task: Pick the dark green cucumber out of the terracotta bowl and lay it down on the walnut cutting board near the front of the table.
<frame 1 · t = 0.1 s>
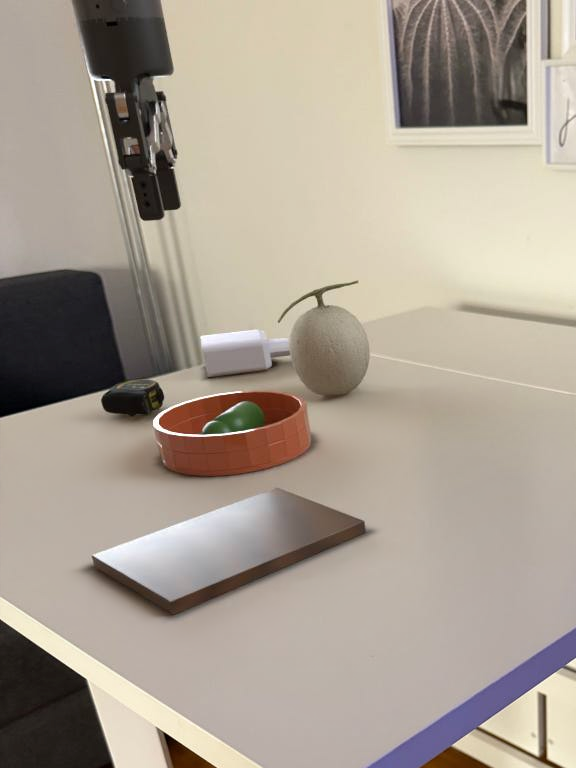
hand: (162, 214, 91), 26 cm above the table, tool pointing down, fingers open, 8 cm apart
bowl: (237, 449, 109), on the table
board: (232, 549, 85), on the table
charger: (256, 367, 143), on the table
tape measure: (139, 416, 124), on the table
cucumber: (236, 444, 109), point 1 cm above the table, touching bowl
fruit: (332, 395, 127), on the table
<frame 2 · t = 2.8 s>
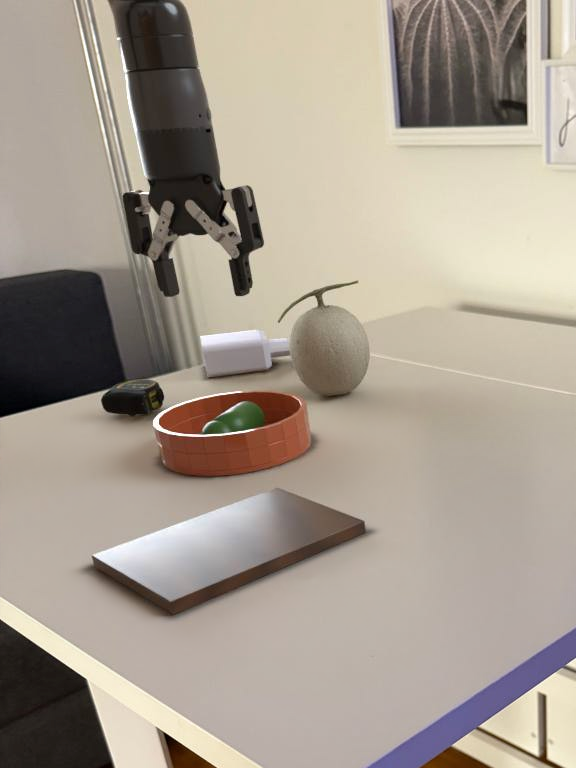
hand: (207, 295, 100), 17 cm above the table, tool pointing down, fingers open, 8 cm apart
nothing on the table moved.
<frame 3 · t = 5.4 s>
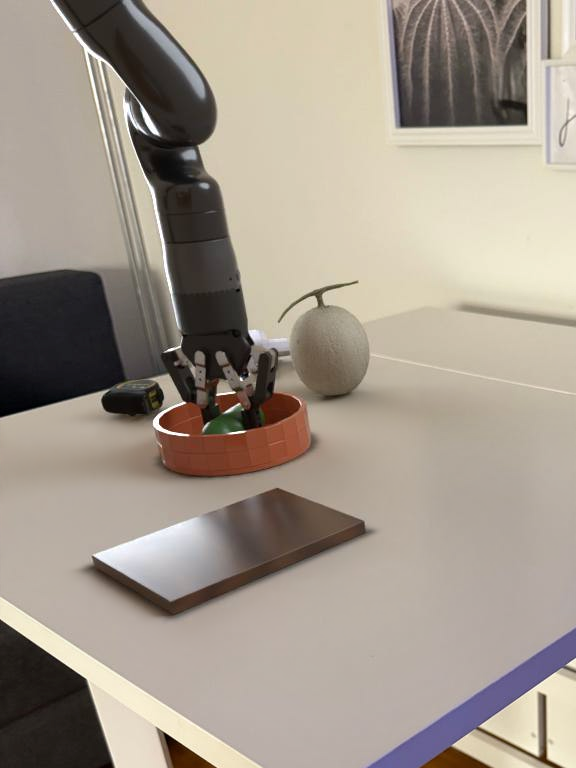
hand: (235, 437, 108), 1 cm above the table, tool pointing down, fingers closed on cucumber, 4 cm apart
cucumber: (236, 444, 109), point 1 cm above the table, touching bowl, gripper
everything else where it was.
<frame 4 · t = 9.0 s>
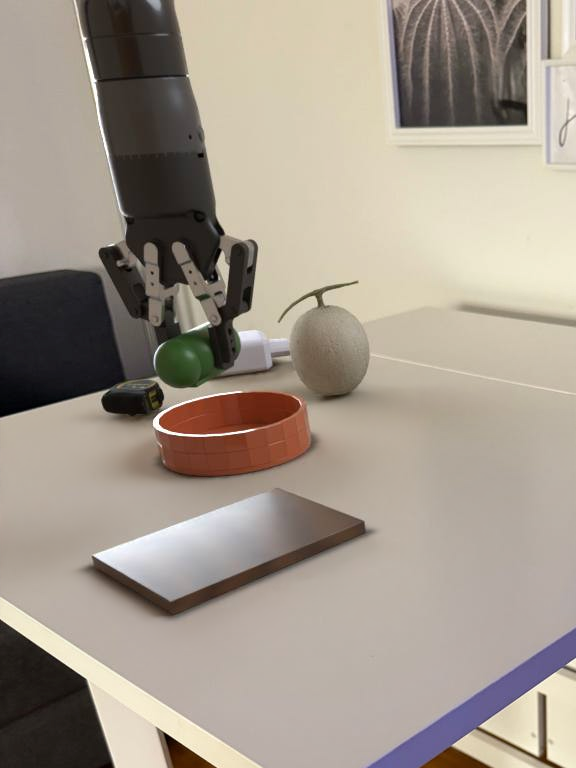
hand: (202, 366, 81), 15 cm above the table, tool pointing down, fingers closed on cucumber, 4 cm apart
cucumber: (204, 376, 82), point 14 cm above the table, touching gripper
everything else where it was.
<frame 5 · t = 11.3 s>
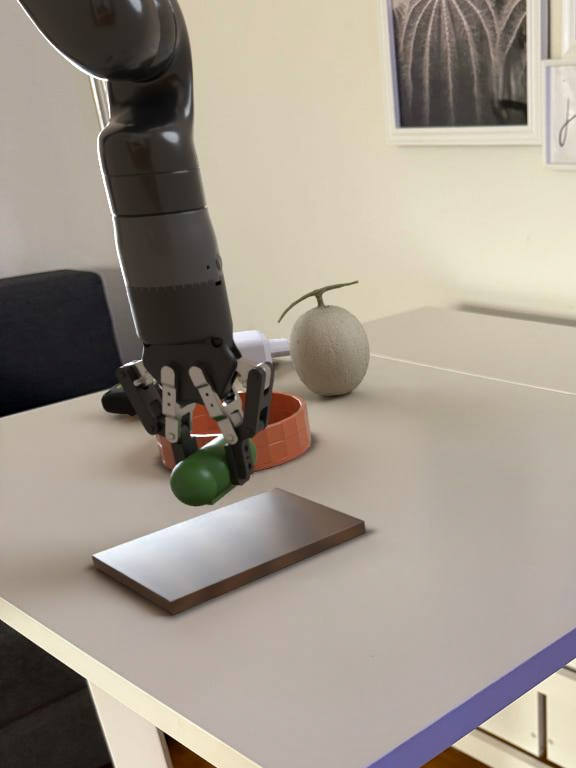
hand: (218, 480, 81), 7 cm above the table, tool pointing down, fingers closed on cucumber, 4 cm apart
cucumber: (219, 489, 82), point 6 cm above the table, touching gripper
everything else where it was.
when the fingers open (2 cm above the table, at t = 12.9 s): cucumber stays where it is, resting on board.
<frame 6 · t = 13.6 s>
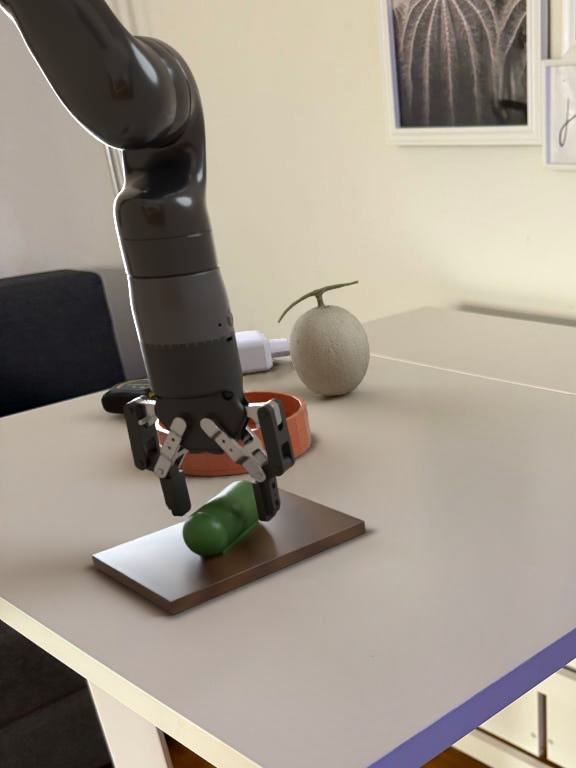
hand: (225, 515, 83), 3 cm above the table, tool pointing down, fingers open, 8 cm apart
cucumber: (230, 537, 84), point 1 cm above the table, touching board
everything else where it was.
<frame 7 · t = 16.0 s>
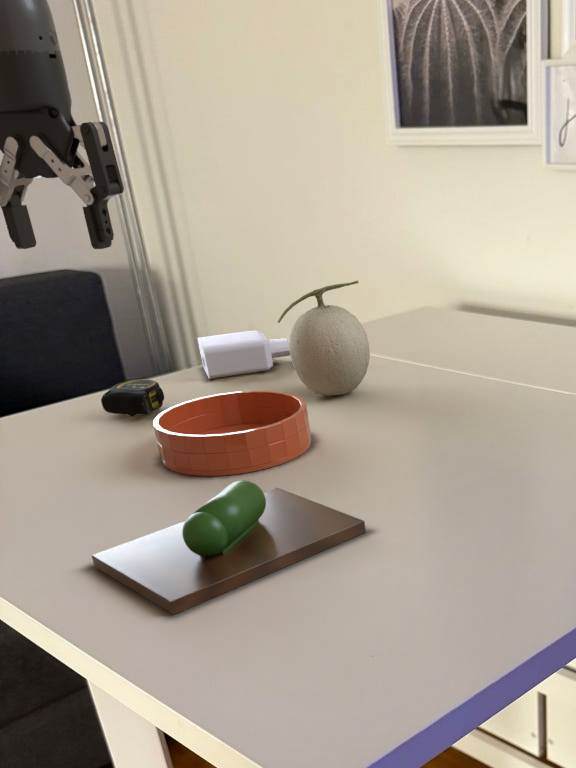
hand: (64, 248, 89), 24 cm above the table, tool pointing down, fingers open, 8 cm apart
nothing on the table moved.
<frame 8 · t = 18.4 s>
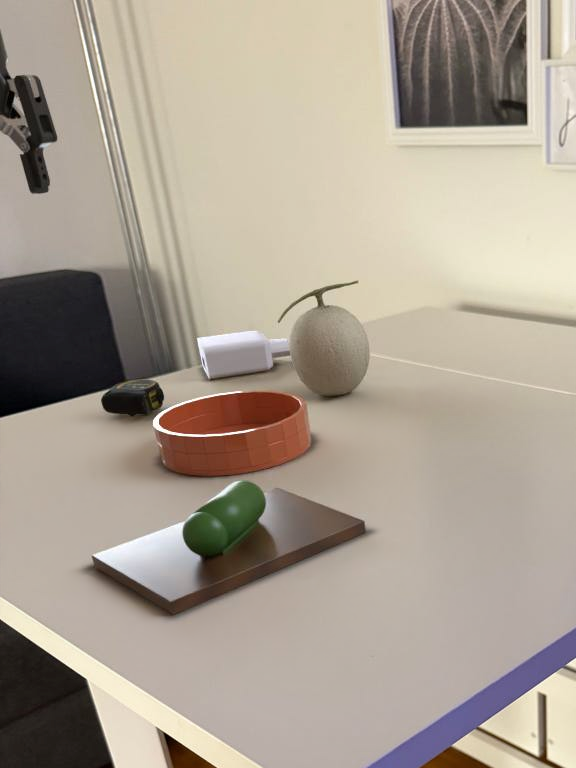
hand: (5, 194, 98), 28 cm above the table, tool pointing down, fingers open, 8 cm apart
nothing on the table moved.
at the end: cucumber inside the target area on the board (0.0 cm from its centre), point 1.2 cm above the board's base; cucumber touching board; the gripper is holding nothing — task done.
